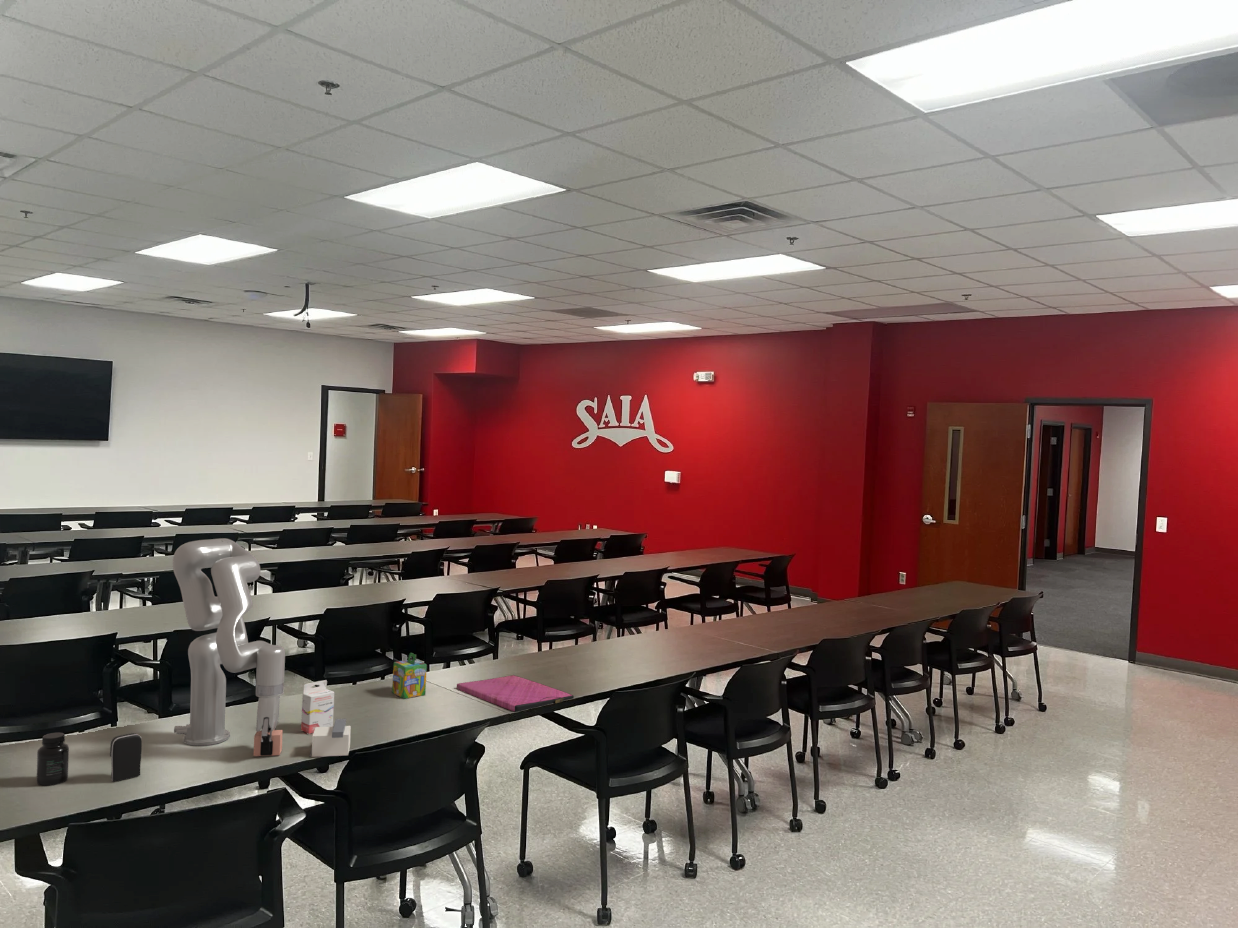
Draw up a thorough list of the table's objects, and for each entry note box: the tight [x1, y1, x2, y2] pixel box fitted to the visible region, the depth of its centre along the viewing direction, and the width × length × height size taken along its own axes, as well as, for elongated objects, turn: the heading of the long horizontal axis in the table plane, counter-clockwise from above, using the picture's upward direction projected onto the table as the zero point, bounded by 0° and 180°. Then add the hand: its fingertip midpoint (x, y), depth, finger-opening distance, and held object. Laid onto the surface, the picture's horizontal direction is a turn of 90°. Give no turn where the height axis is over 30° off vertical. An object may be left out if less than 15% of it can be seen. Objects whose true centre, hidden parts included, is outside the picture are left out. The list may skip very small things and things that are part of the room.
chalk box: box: [391, 652, 428, 700], centre depth 307 cm, size 9×9×15 cm
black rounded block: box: [109, 732, 143, 783], centre depth 224 cm, size 7×4×11 cm, turn 137°
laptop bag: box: [456, 674, 574, 713], centre depth 312 cm, size 40×4×27 cm
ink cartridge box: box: [300, 679, 335, 735], centre depth 267 cm, size 9×5×15 cm, turn 141°
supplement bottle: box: [36, 732, 70, 787], centre depth 220 cm, size 7×7×12 cm
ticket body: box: [309, 718, 352, 758], centre depth 249 cm, size 11×12×8 cm
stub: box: [253, 729, 283, 757], centre depth 245 cm, size 7×4×6 cm, turn 104°
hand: (267, 750), depth 245 cm, fingers closed on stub, 4 cm apart
